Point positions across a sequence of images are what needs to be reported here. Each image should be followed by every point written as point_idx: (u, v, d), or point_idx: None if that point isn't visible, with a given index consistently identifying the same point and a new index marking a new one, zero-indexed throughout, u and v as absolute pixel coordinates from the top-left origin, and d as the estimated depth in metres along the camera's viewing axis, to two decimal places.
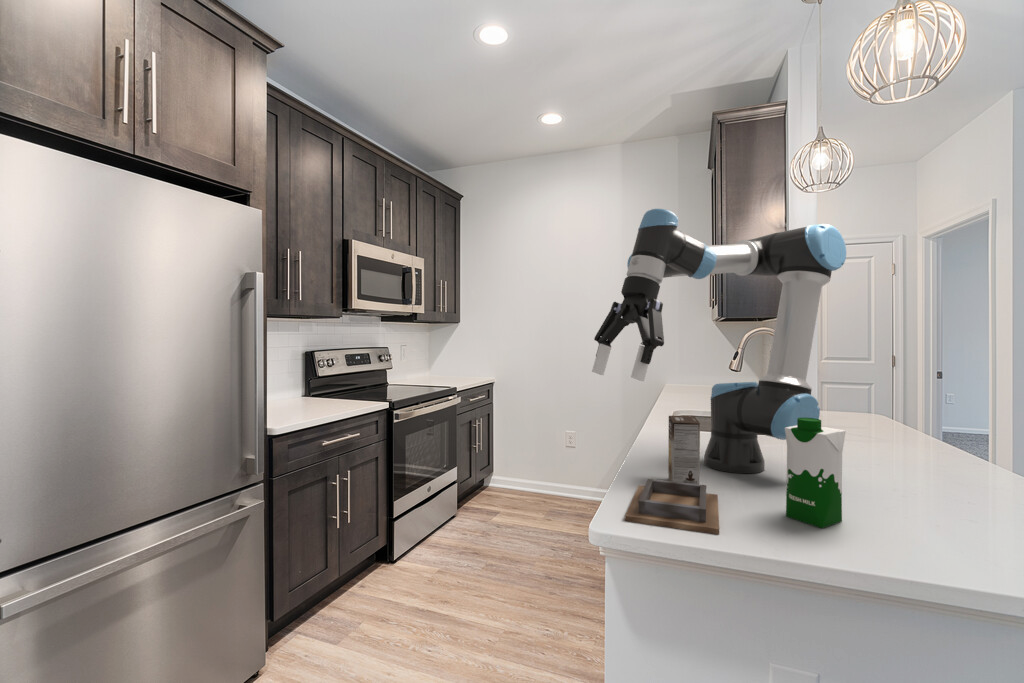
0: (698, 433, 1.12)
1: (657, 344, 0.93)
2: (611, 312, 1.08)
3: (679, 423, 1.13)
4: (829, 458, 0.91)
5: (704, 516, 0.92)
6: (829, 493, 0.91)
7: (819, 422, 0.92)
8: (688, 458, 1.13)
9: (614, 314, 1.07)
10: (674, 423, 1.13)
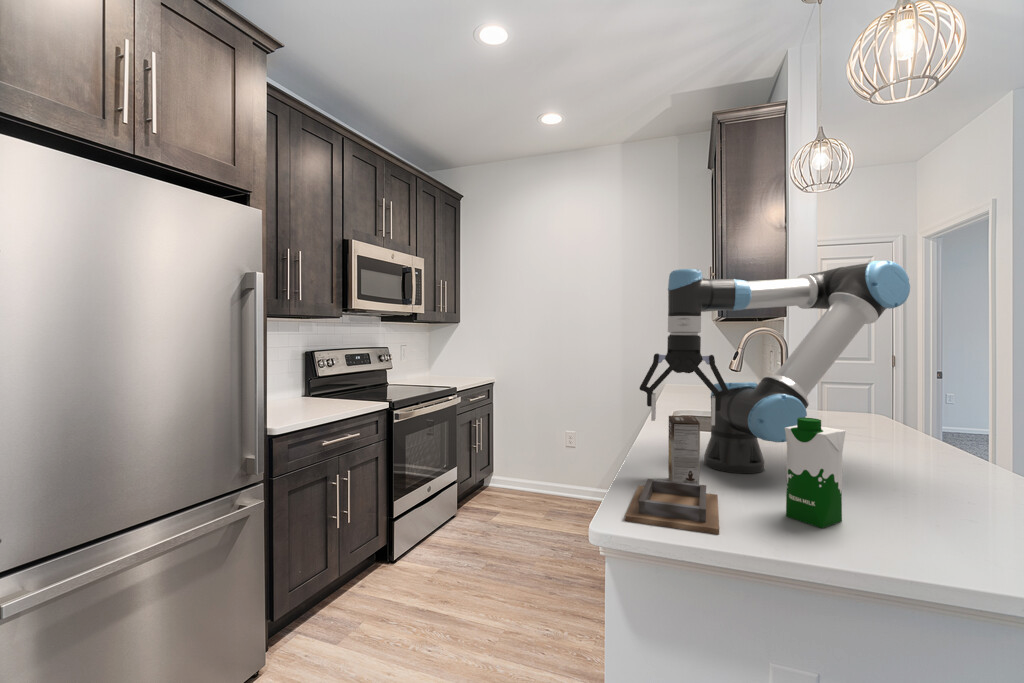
0: (698, 433, 1.12)
1: None
2: (655, 364, 1.18)
3: (679, 423, 1.13)
4: (829, 458, 0.91)
5: (704, 516, 0.92)
6: (829, 493, 0.91)
7: (819, 422, 0.92)
8: (688, 458, 1.13)
9: (657, 365, 1.18)
10: (674, 423, 1.13)
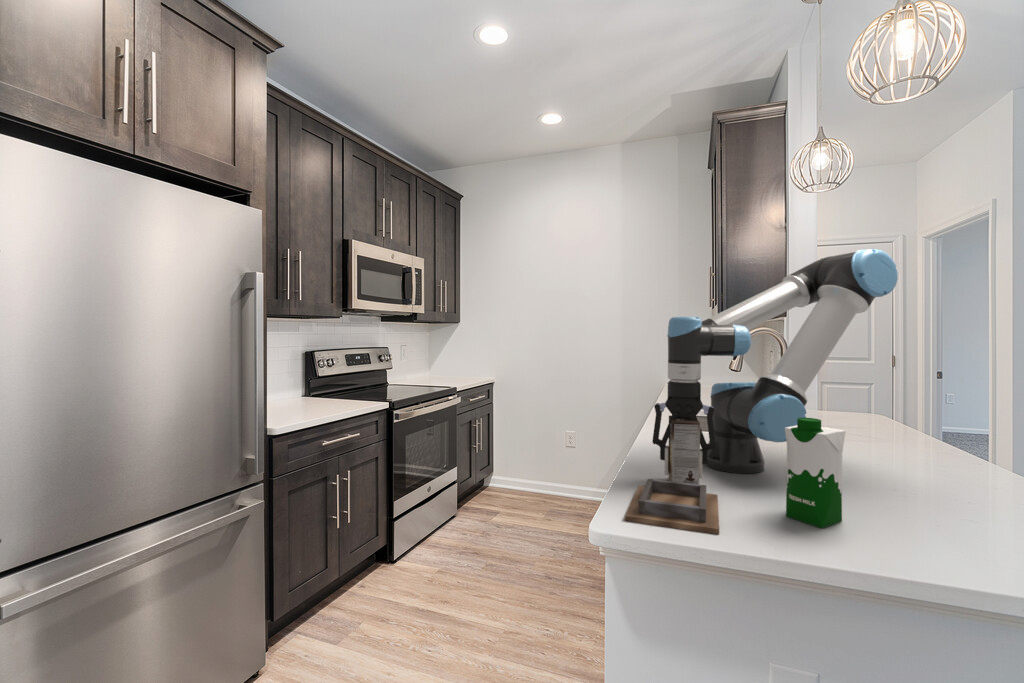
0: (698, 433, 1.12)
1: None
2: (658, 414, 1.18)
3: (679, 423, 1.13)
4: (829, 458, 0.91)
5: (704, 516, 0.92)
6: (829, 493, 0.91)
7: (819, 422, 0.92)
8: (688, 458, 1.13)
9: (661, 414, 1.18)
10: (674, 423, 1.13)
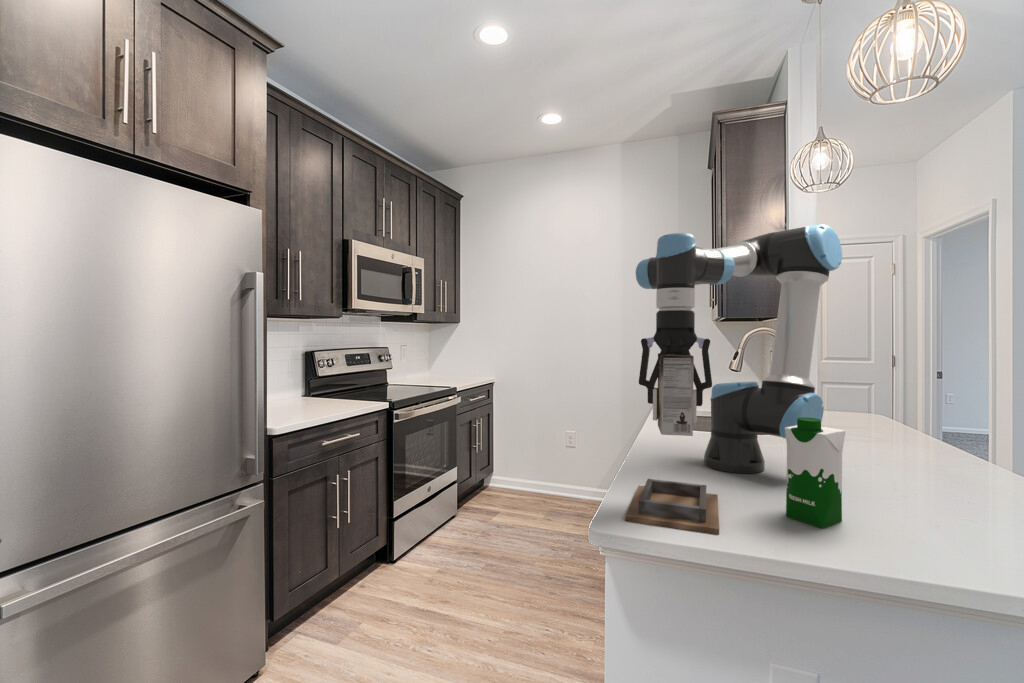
0: (691, 368, 0.95)
1: None
2: (645, 350, 1.01)
3: (669, 356, 0.96)
4: (829, 458, 0.91)
5: (704, 516, 0.92)
6: (829, 493, 0.91)
7: (819, 422, 0.92)
8: (680, 397, 0.96)
9: (648, 350, 1.02)
10: (663, 357, 0.96)
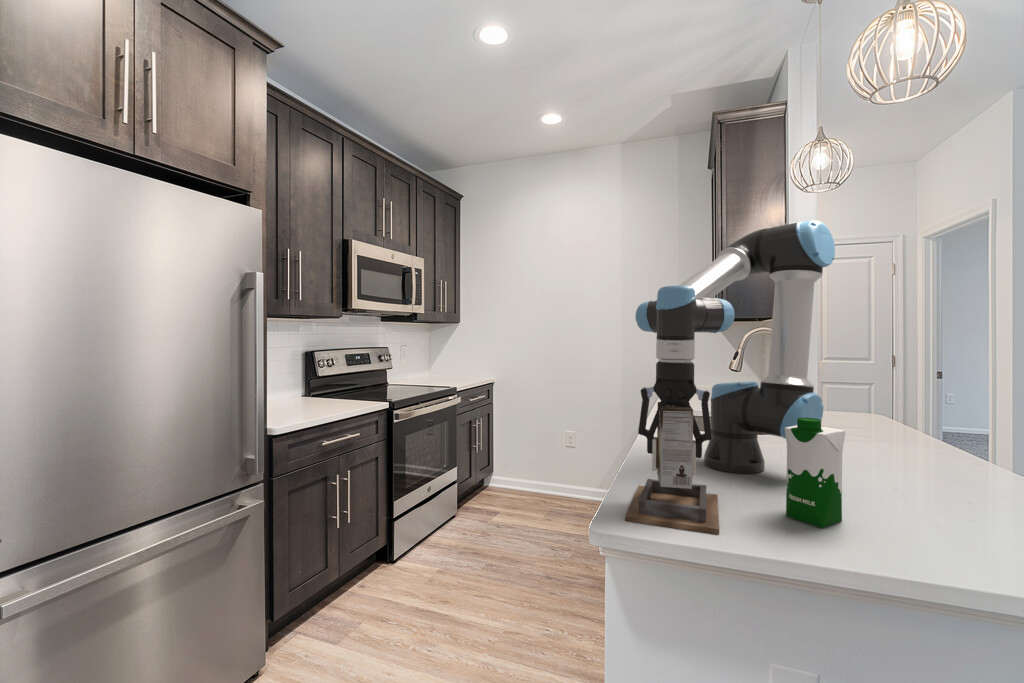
0: (691, 421, 0.96)
1: None
2: (645, 400, 1.01)
3: (669, 409, 0.96)
4: (829, 458, 0.91)
5: (704, 516, 0.92)
6: (829, 493, 0.91)
7: (819, 422, 0.92)
8: (679, 450, 0.96)
9: (648, 400, 1.02)
10: (663, 409, 0.97)
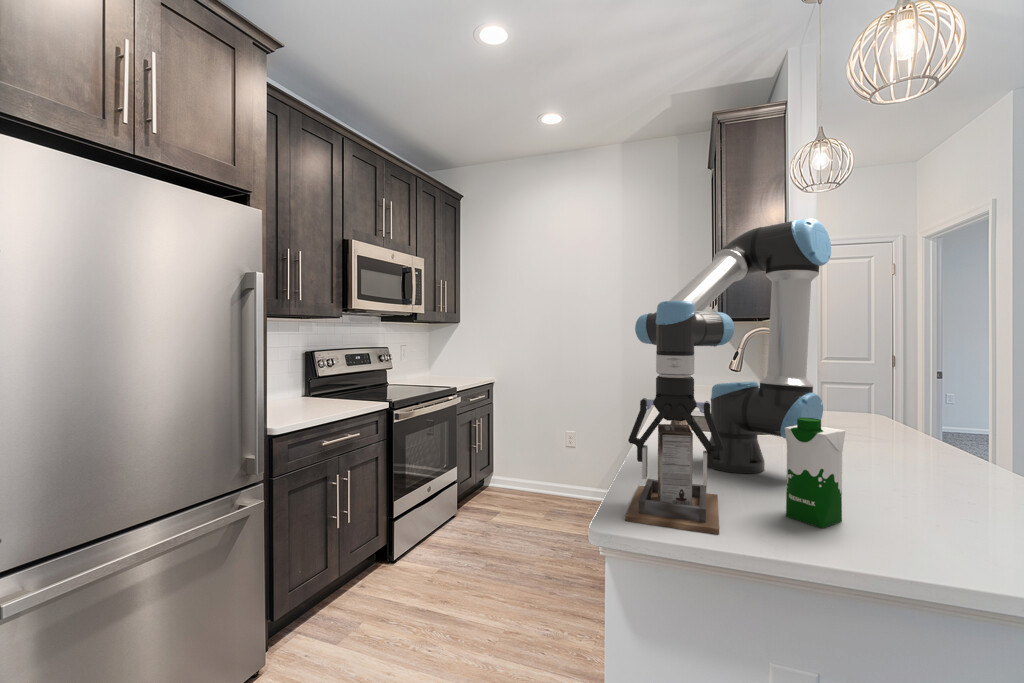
0: (691, 445, 0.96)
1: None
2: (642, 411, 1.02)
3: (668, 434, 0.97)
4: (829, 458, 0.91)
5: (704, 516, 0.92)
6: (829, 493, 0.91)
7: (819, 422, 0.92)
8: (679, 474, 0.96)
9: (645, 412, 1.02)
10: (662, 433, 0.97)
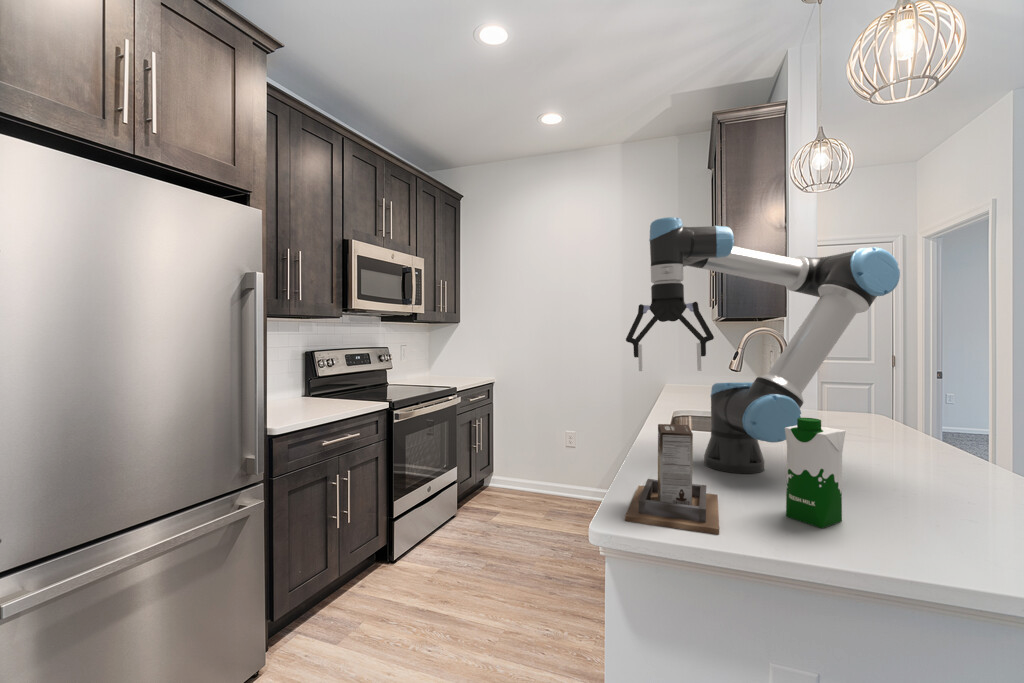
0: (691, 445, 0.96)
1: None
2: (640, 314, 1.19)
3: (668, 433, 0.97)
4: (829, 458, 0.91)
5: (704, 516, 0.92)
6: (829, 493, 0.91)
7: (819, 422, 0.92)
8: (679, 474, 0.96)
9: (642, 315, 1.19)
10: (662, 433, 0.97)
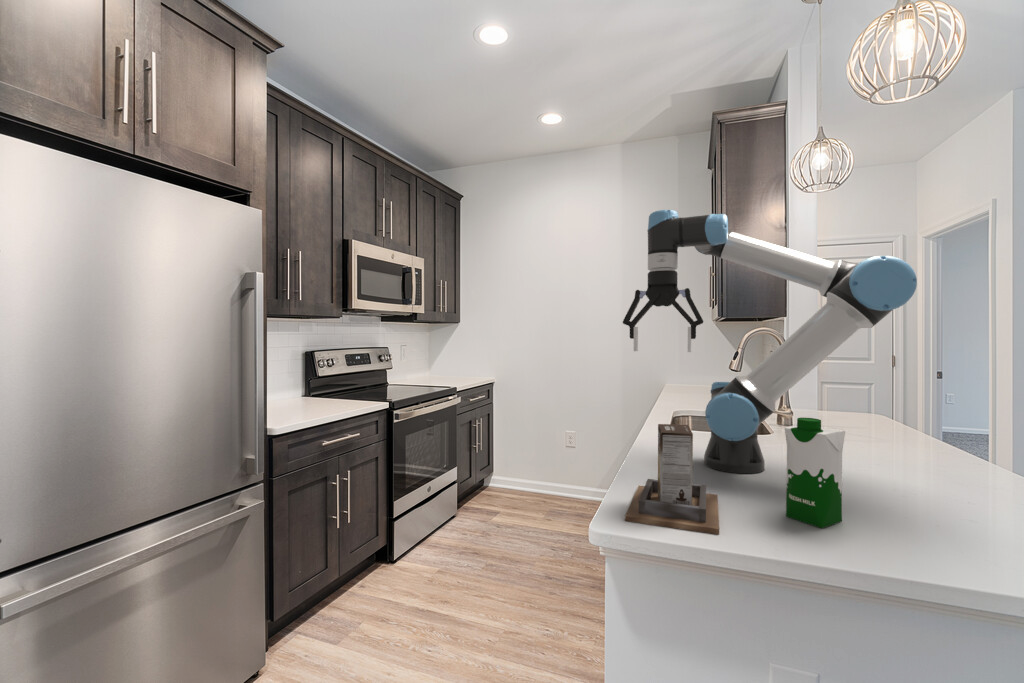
0: (691, 445, 0.96)
1: None
2: (636, 299, 1.29)
3: (668, 434, 0.97)
4: (829, 458, 0.91)
5: (704, 516, 0.92)
6: (829, 493, 0.91)
7: (819, 422, 0.92)
8: (679, 474, 0.96)
9: (638, 300, 1.29)
10: (663, 433, 0.97)
